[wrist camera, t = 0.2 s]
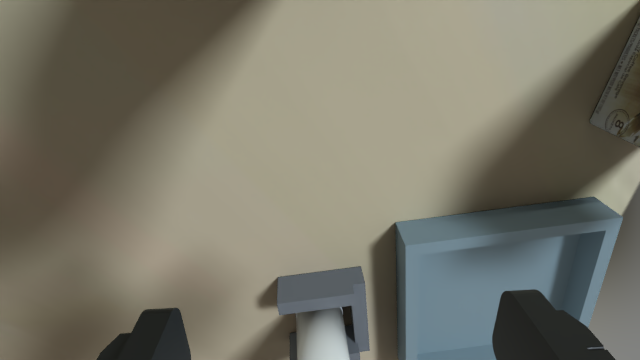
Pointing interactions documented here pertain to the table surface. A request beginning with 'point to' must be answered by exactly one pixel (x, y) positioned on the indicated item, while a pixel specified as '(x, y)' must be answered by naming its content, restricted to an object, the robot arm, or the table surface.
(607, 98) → the coffee box
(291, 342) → the holder
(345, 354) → the white dome cap bottle
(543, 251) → the parts tray
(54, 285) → the table surface
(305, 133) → the table surface
